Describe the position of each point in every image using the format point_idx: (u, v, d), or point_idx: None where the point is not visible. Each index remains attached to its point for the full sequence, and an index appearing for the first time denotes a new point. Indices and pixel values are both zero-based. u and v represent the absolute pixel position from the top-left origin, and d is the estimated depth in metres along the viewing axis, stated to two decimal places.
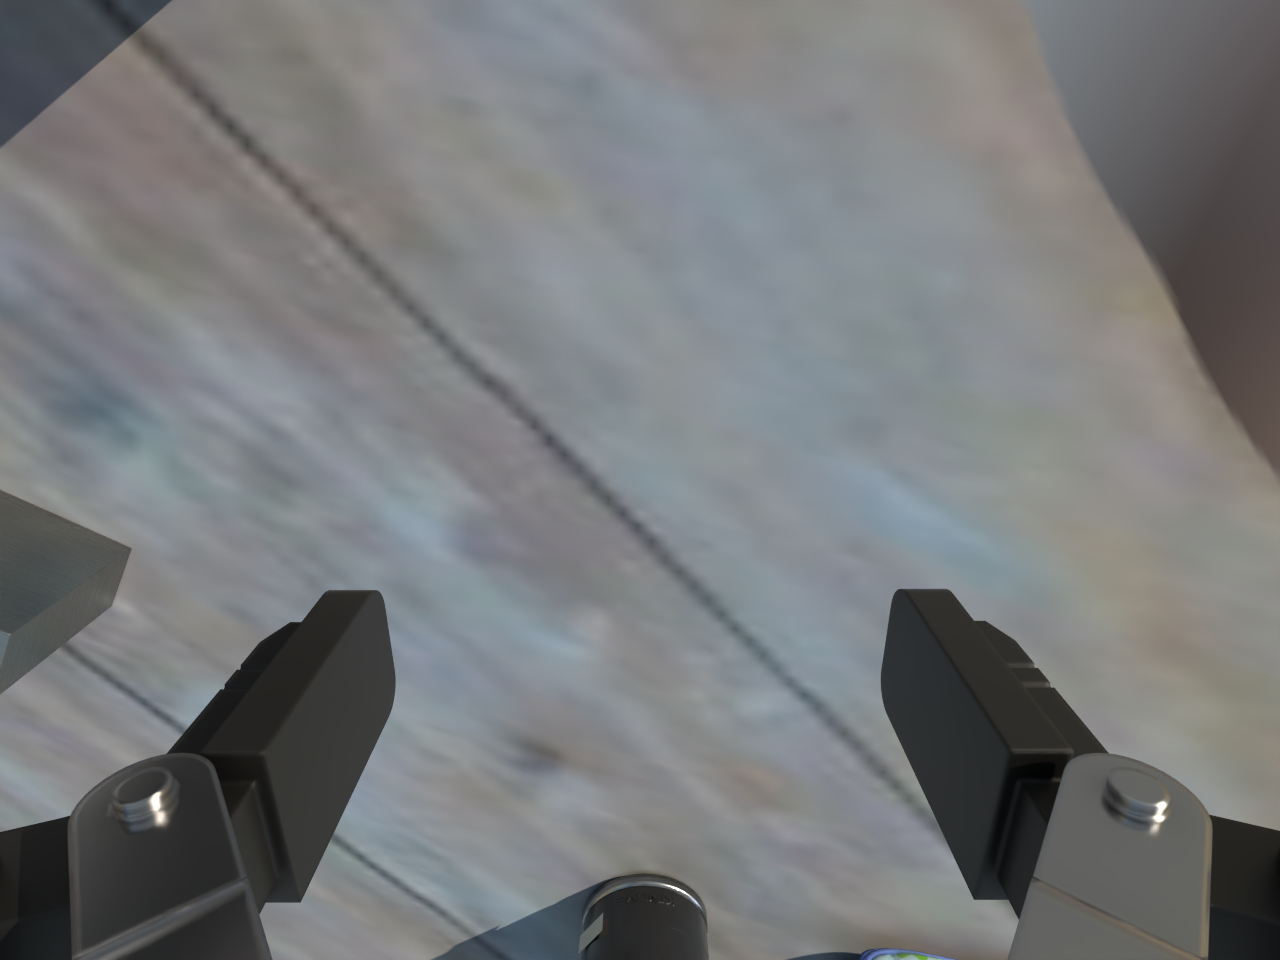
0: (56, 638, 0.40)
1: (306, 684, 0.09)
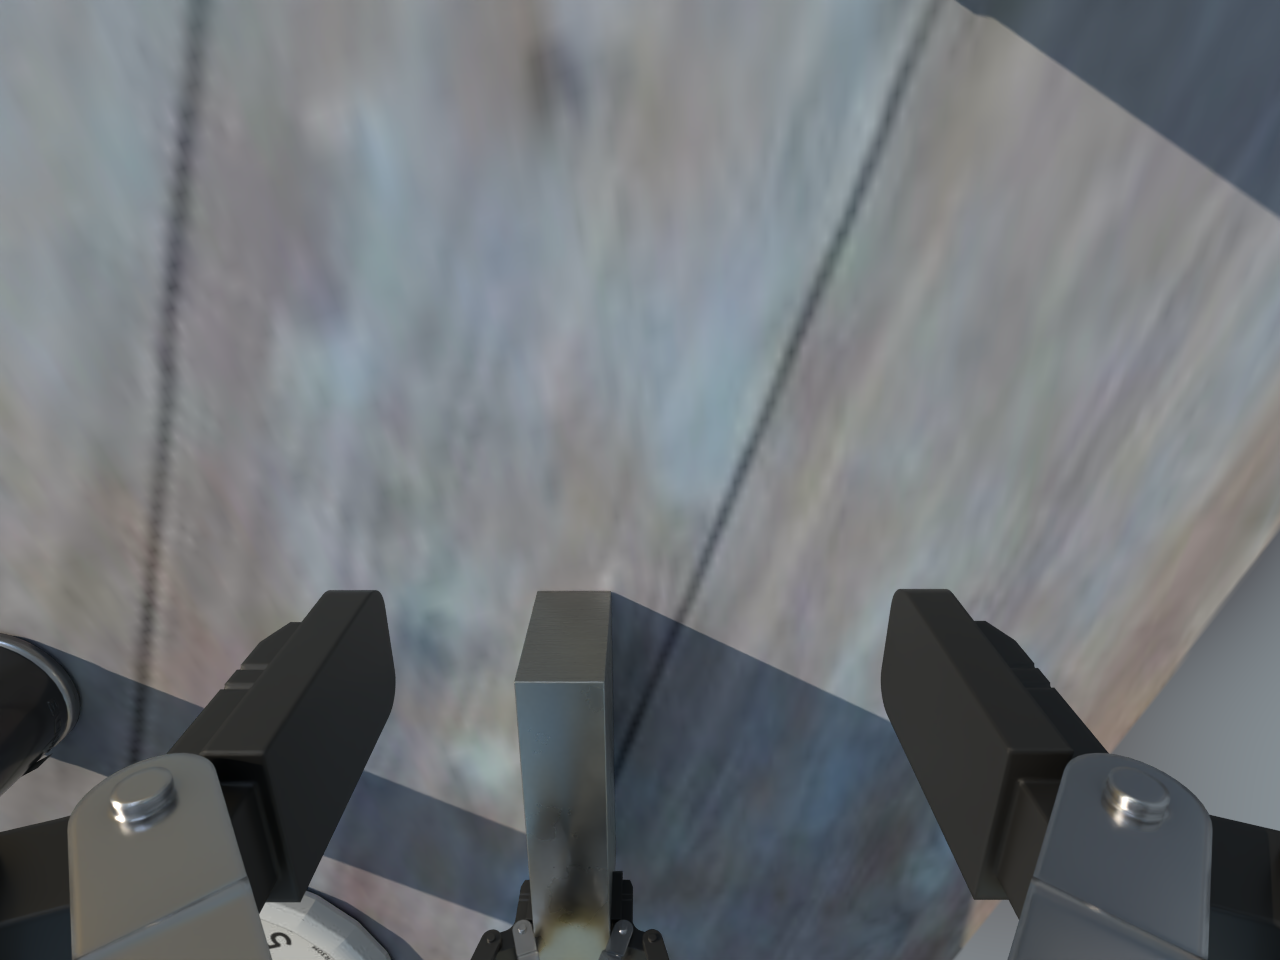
0: (585, 636, 0.41)
1: (306, 683, 0.09)
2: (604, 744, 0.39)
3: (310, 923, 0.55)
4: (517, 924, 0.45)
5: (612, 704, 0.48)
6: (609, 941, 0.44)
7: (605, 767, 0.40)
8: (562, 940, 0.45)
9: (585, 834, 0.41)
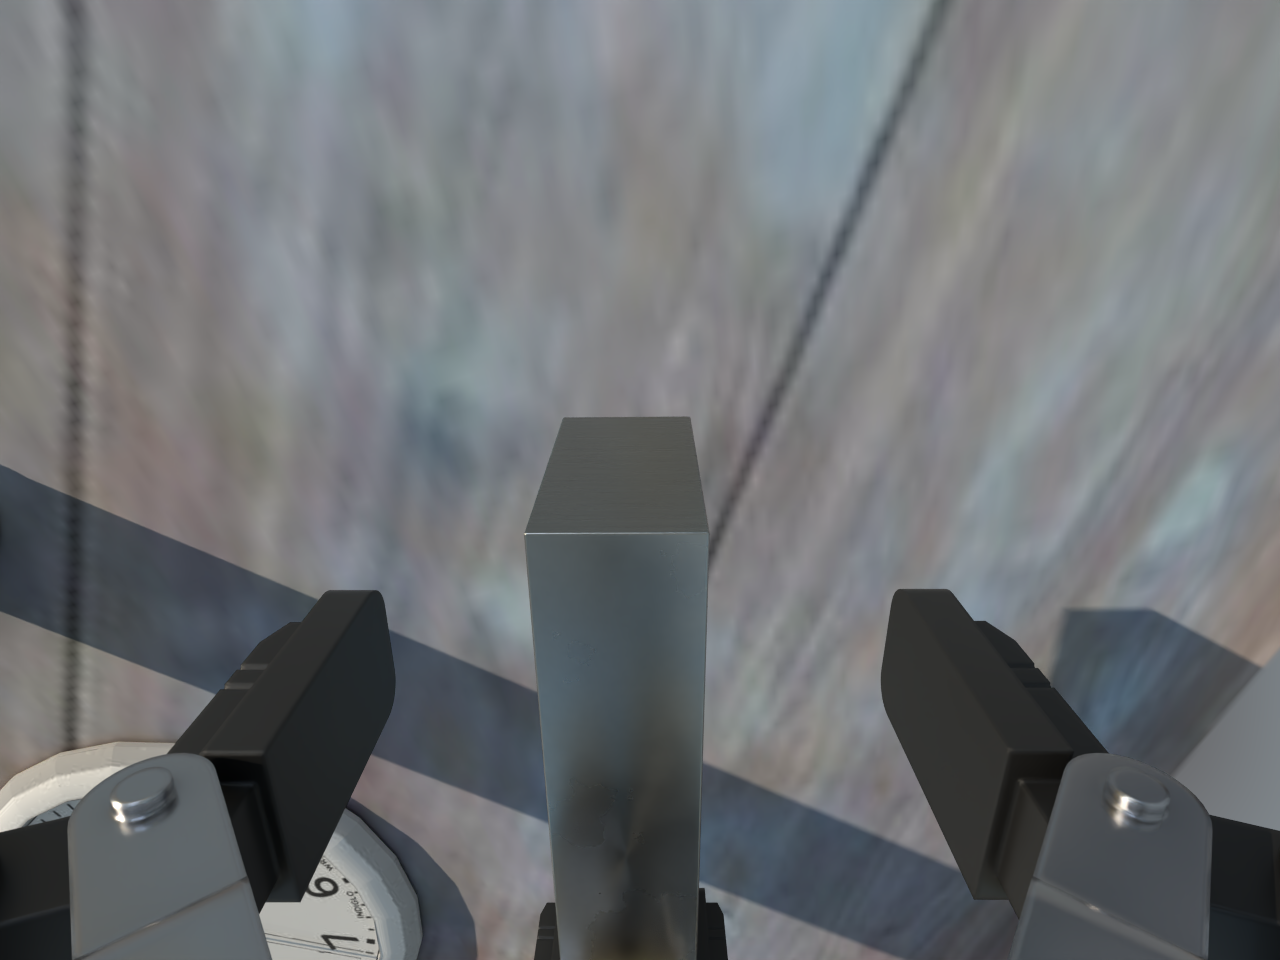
0: (658, 469, 0.22)
1: (306, 684, 0.09)
2: (702, 664, 0.20)
3: None
4: None
5: None
6: None
7: (702, 710, 0.20)
8: None
9: (658, 835, 0.22)
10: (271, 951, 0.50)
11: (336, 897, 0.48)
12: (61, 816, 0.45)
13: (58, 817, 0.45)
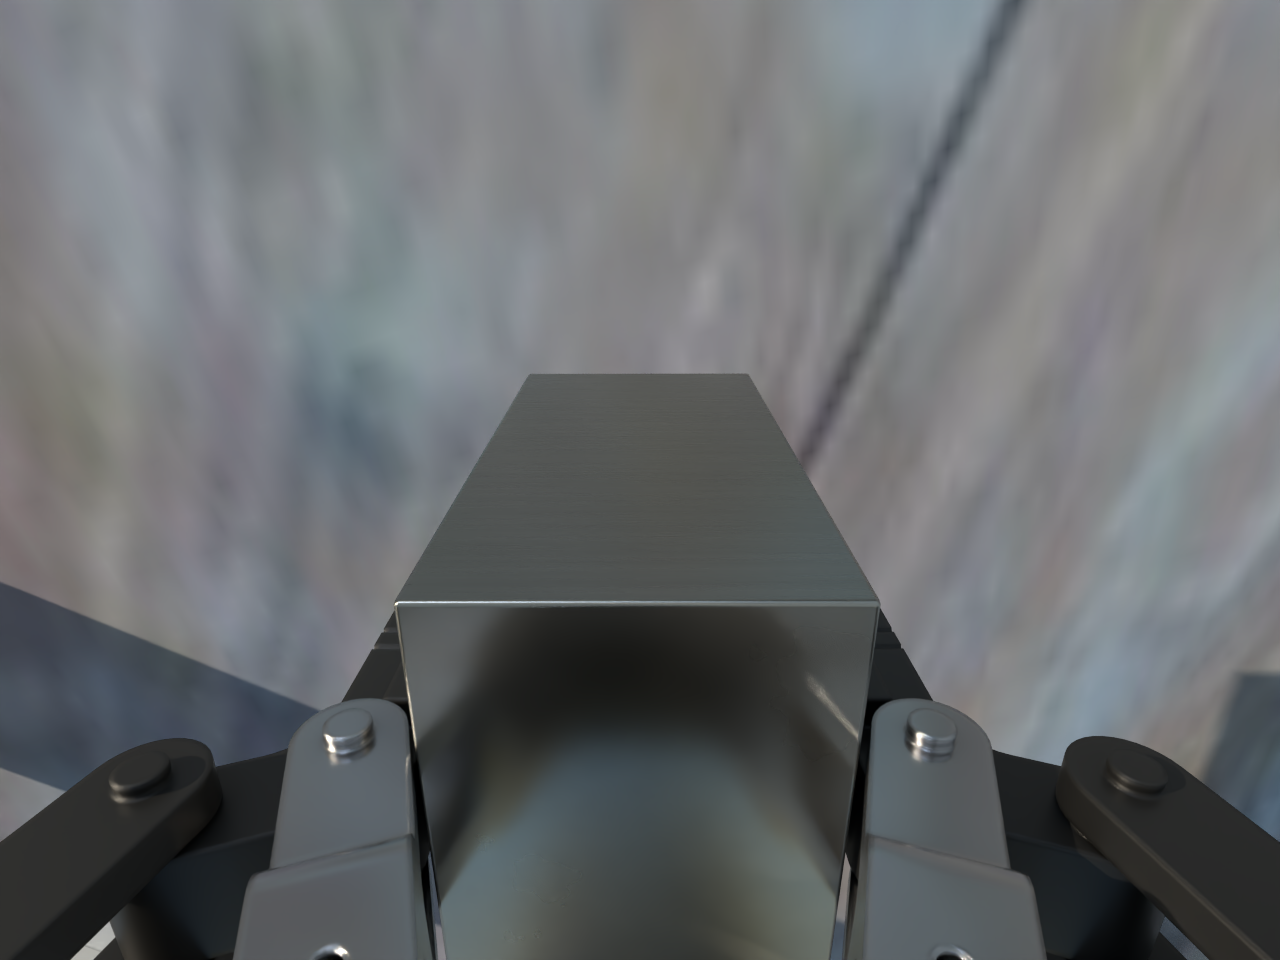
0: (712, 454, 0.11)
1: None
2: (832, 905, 0.08)
3: None
4: None
5: None
6: None
7: None
8: None
9: None
10: None
11: None
12: None
13: None
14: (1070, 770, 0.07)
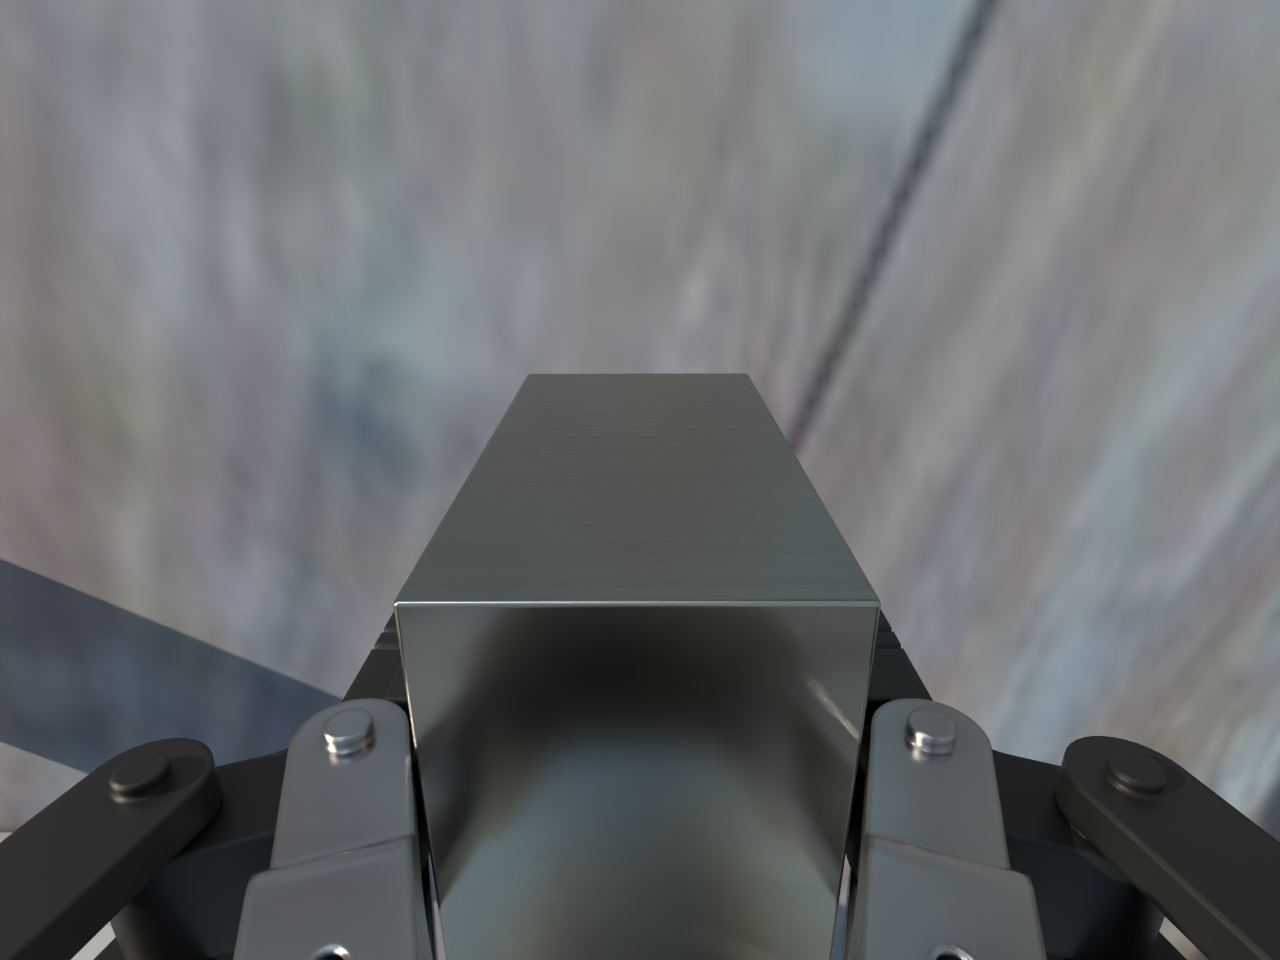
0: (712, 454, 0.11)
1: None
2: (833, 905, 0.08)
3: None
4: None
5: None
6: None
7: None
8: None
9: None
10: None
11: None
12: None
13: None
14: (1070, 770, 0.07)
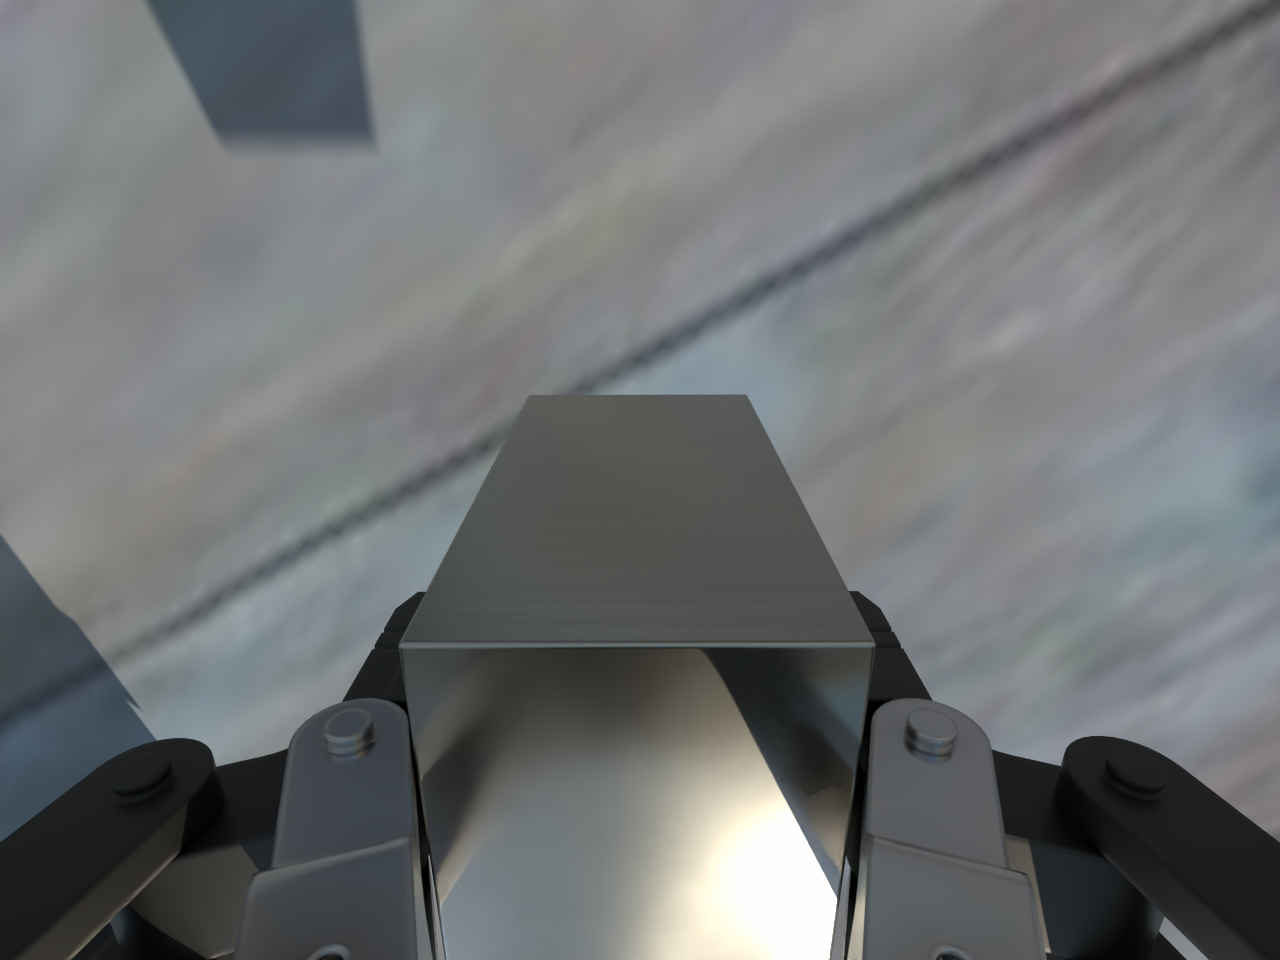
0: (711, 483, 0.11)
1: None
2: (829, 933, 0.09)
3: None
4: None
5: None
6: None
7: None
8: None
9: None
10: None
11: None
12: None
13: None
14: (1069, 770, 0.07)
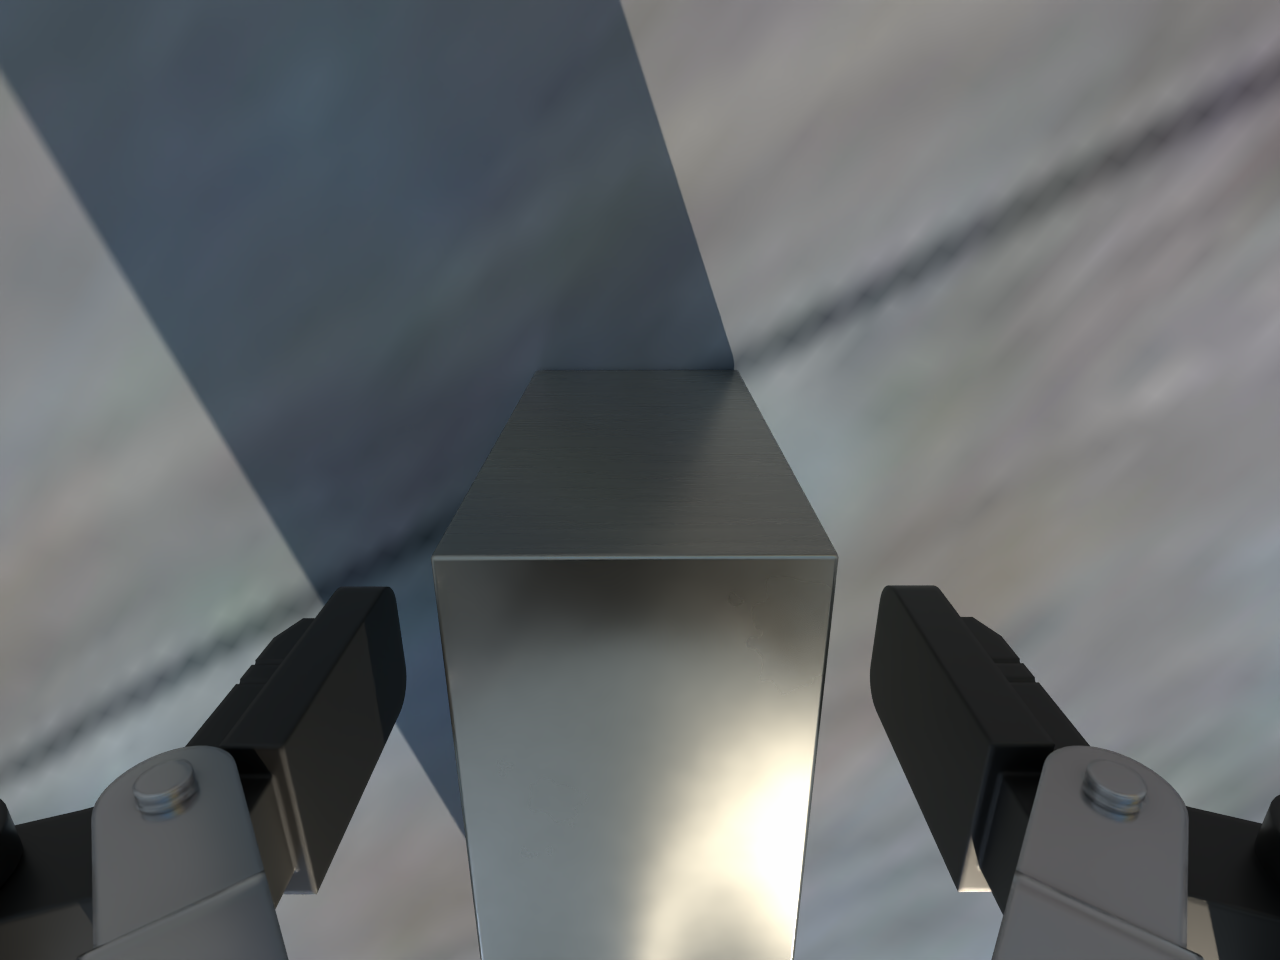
0: (702, 439, 0.12)
1: (321, 678, 0.09)
2: (803, 823, 0.10)
3: None
4: None
5: None
6: None
7: (796, 907, 0.10)
8: None
9: None
10: None
11: None
12: None
13: None
14: (1274, 819, 0.07)
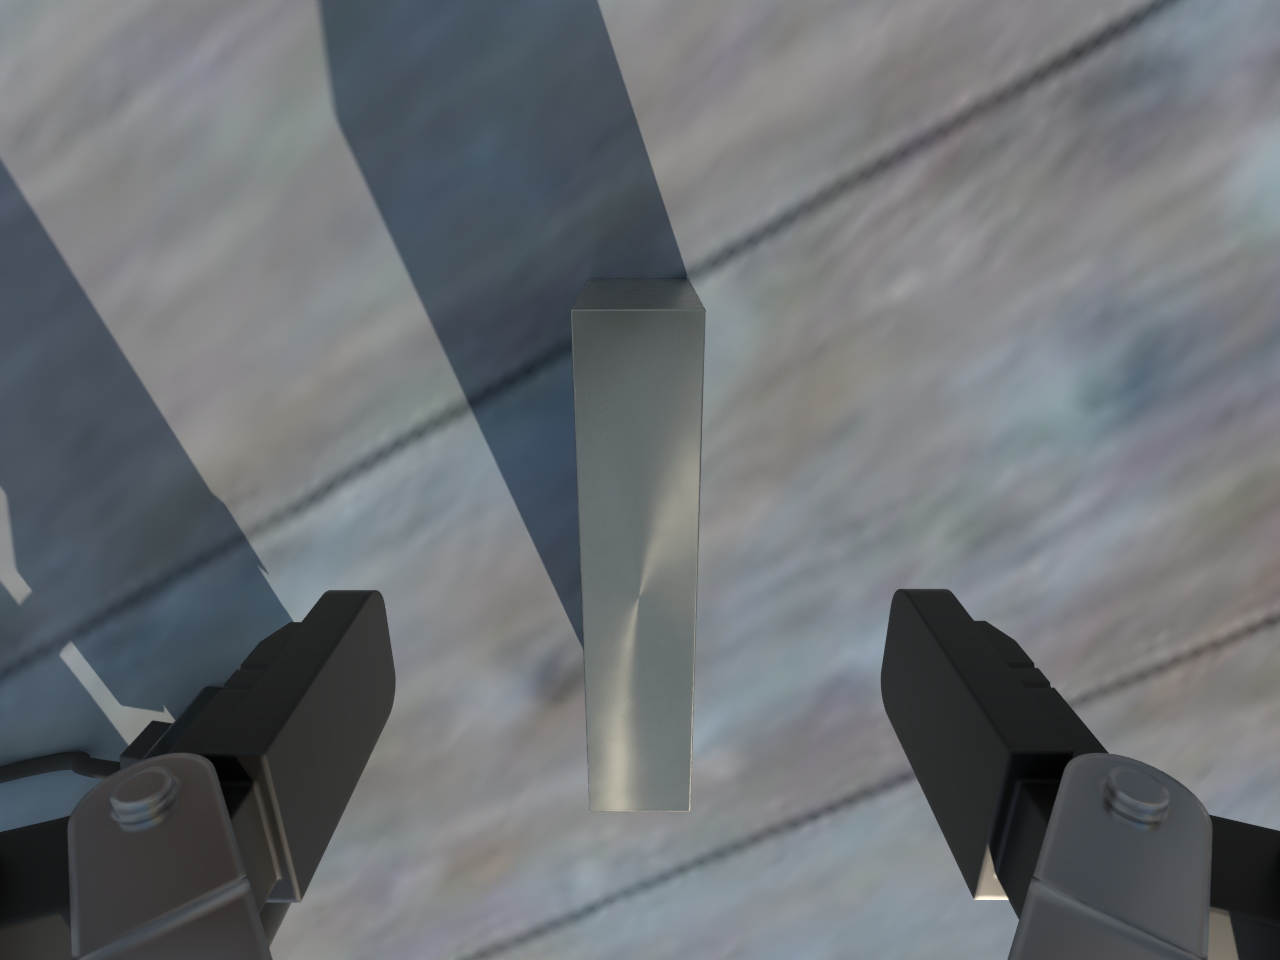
0: (665, 293, 0.29)
1: (306, 683, 0.09)
2: (700, 421, 0.27)
3: None
4: None
5: None
6: None
7: (699, 462, 0.27)
8: (626, 750, 0.32)
9: (665, 576, 0.29)
10: None
11: None
12: None
13: None
14: None
